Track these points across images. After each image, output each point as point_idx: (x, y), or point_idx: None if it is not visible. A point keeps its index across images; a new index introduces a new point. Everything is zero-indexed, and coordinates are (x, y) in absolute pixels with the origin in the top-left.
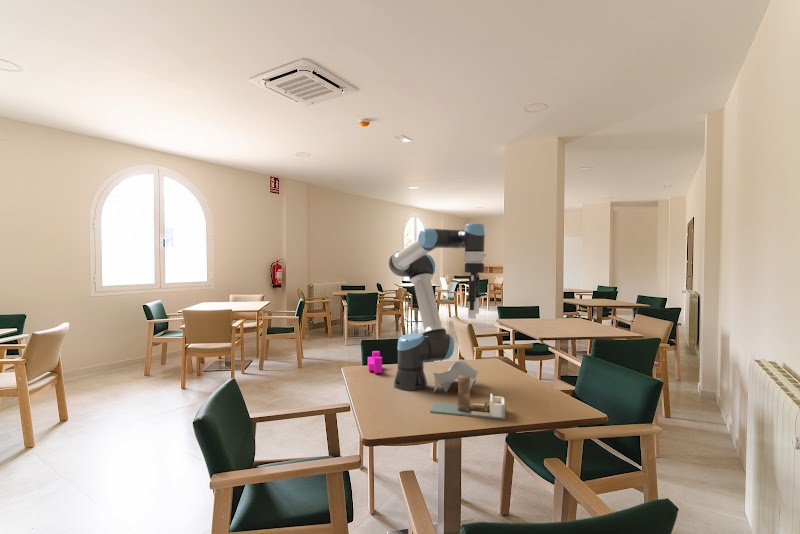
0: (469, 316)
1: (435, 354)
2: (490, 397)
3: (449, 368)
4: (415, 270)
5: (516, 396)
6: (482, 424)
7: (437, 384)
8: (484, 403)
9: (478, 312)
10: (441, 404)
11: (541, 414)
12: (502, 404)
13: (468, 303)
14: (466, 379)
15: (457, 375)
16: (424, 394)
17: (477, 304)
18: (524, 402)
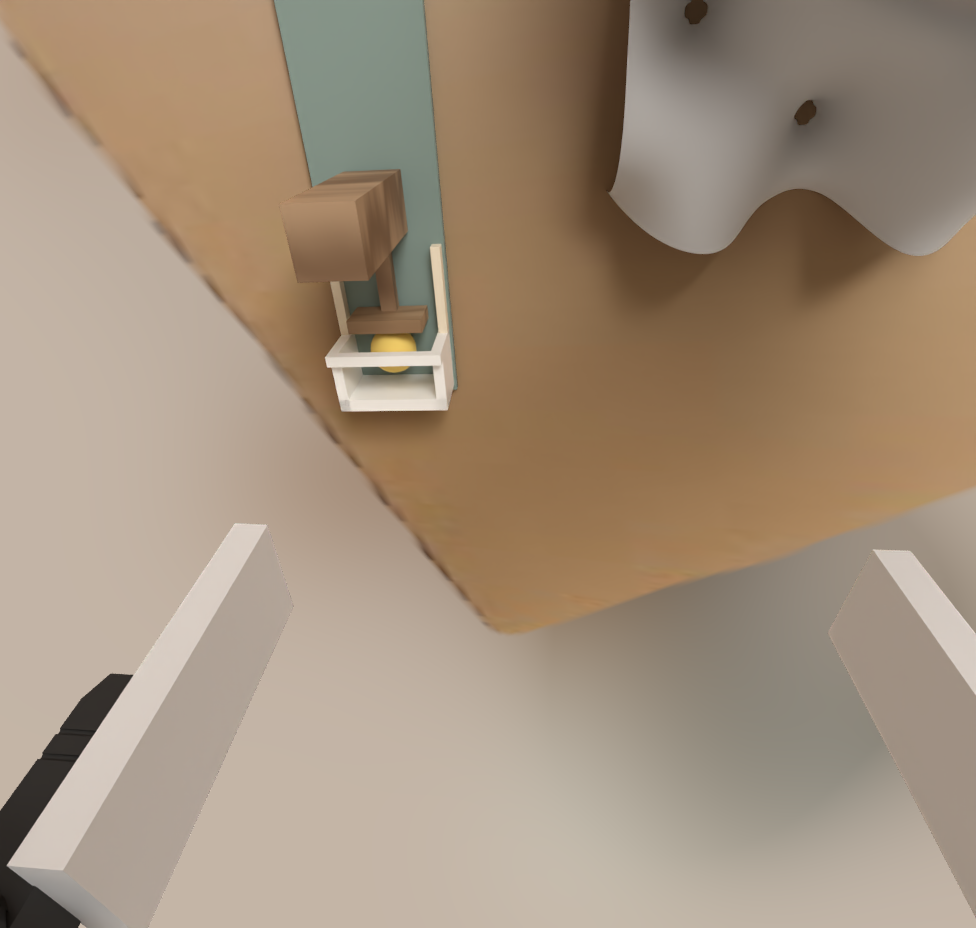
0: (225, 562)
1: None
2: (383, 357)
3: None
4: None
5: (650, 430)
6: (266, 302)
7: None
8: (360, 321)
9: (838, 650)
10: (401, 42)
11: (460, 500)
12: (344, 404)
13: (53, 799)
14: (295, 262)
15: (869, 85)
16: None
17: (936, 797)
18: (576, 456)
